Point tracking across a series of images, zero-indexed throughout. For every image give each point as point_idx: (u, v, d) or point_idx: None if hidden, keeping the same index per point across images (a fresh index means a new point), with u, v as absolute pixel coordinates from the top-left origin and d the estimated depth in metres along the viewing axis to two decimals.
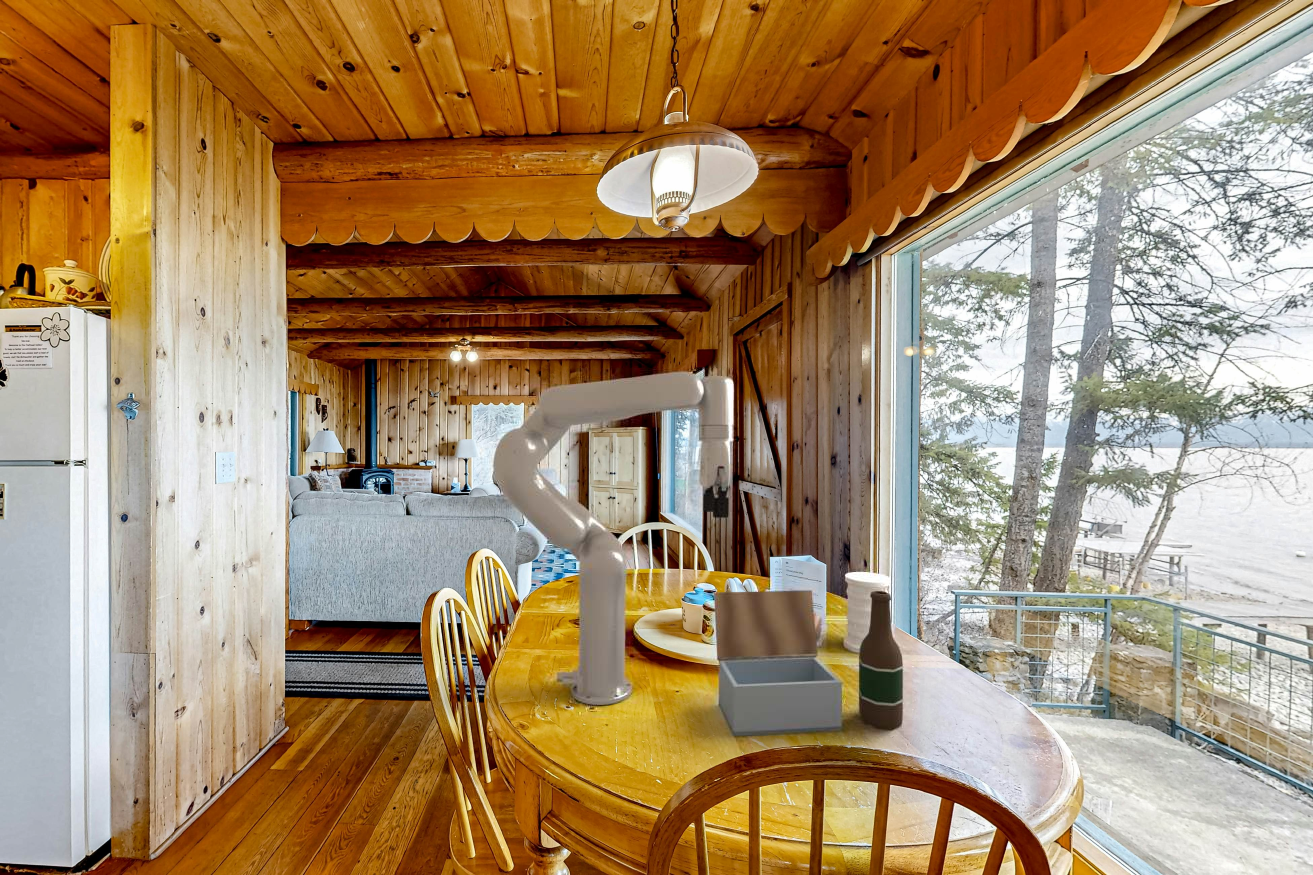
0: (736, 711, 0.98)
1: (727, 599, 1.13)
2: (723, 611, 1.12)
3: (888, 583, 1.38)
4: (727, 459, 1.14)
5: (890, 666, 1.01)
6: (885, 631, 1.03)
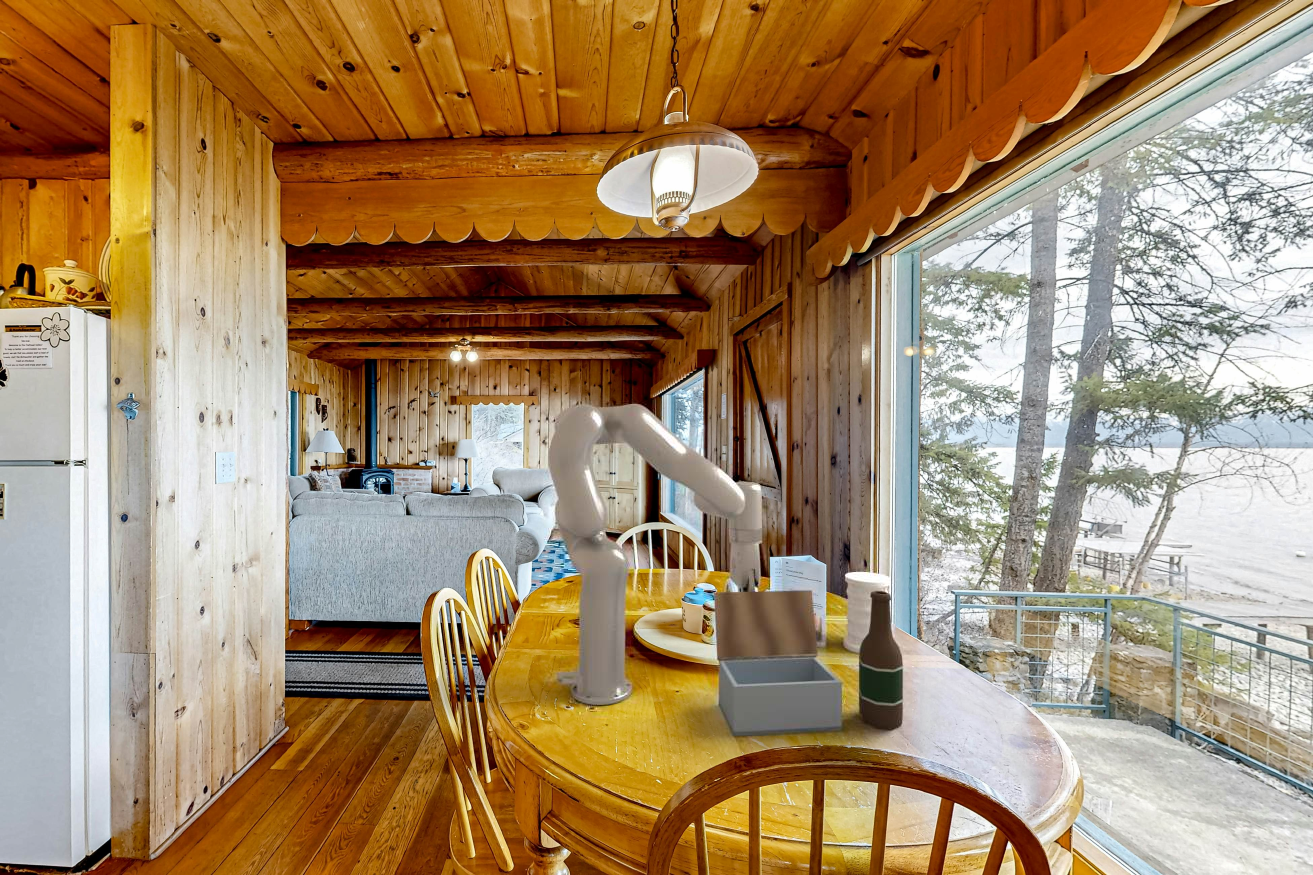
0: (736, 711, 0.98)
1: (727, 599, 1.13)
2: (723, 611, 1.12)
3: (888, 583, 1.38)
4: (757, 562, 1.24)
5: (890, 666, 1.01)
6: (885, 631, 1.03)
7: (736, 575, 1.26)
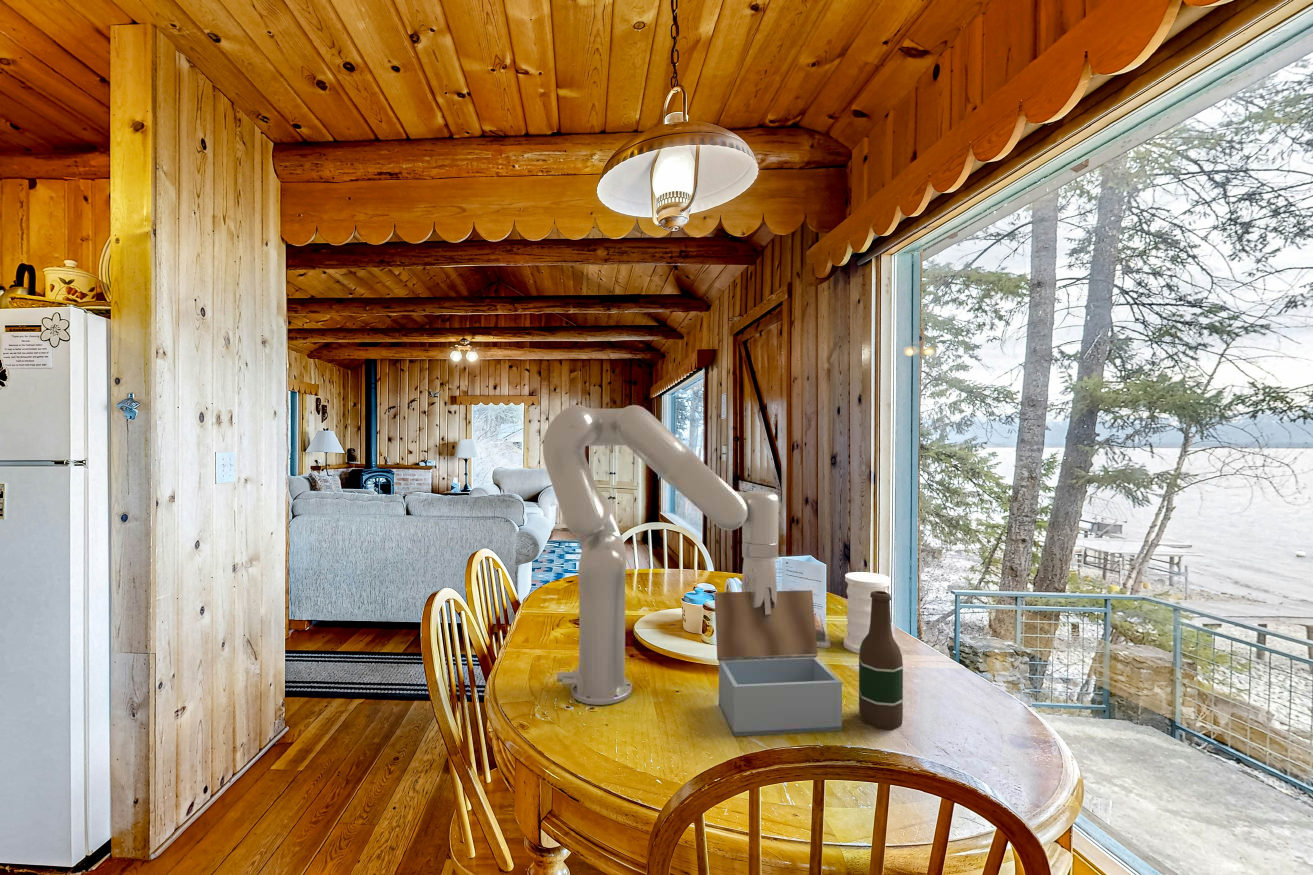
0: (736, 711, 0.98)
1: (727, 599, 1.13)
2: (723, 611, 1.12)
3: (888, 583, 1.38)
4: (774, 580, 1.12)
5: (890, 666, 1.01)
6: (885, 631, 1.03)
7: None
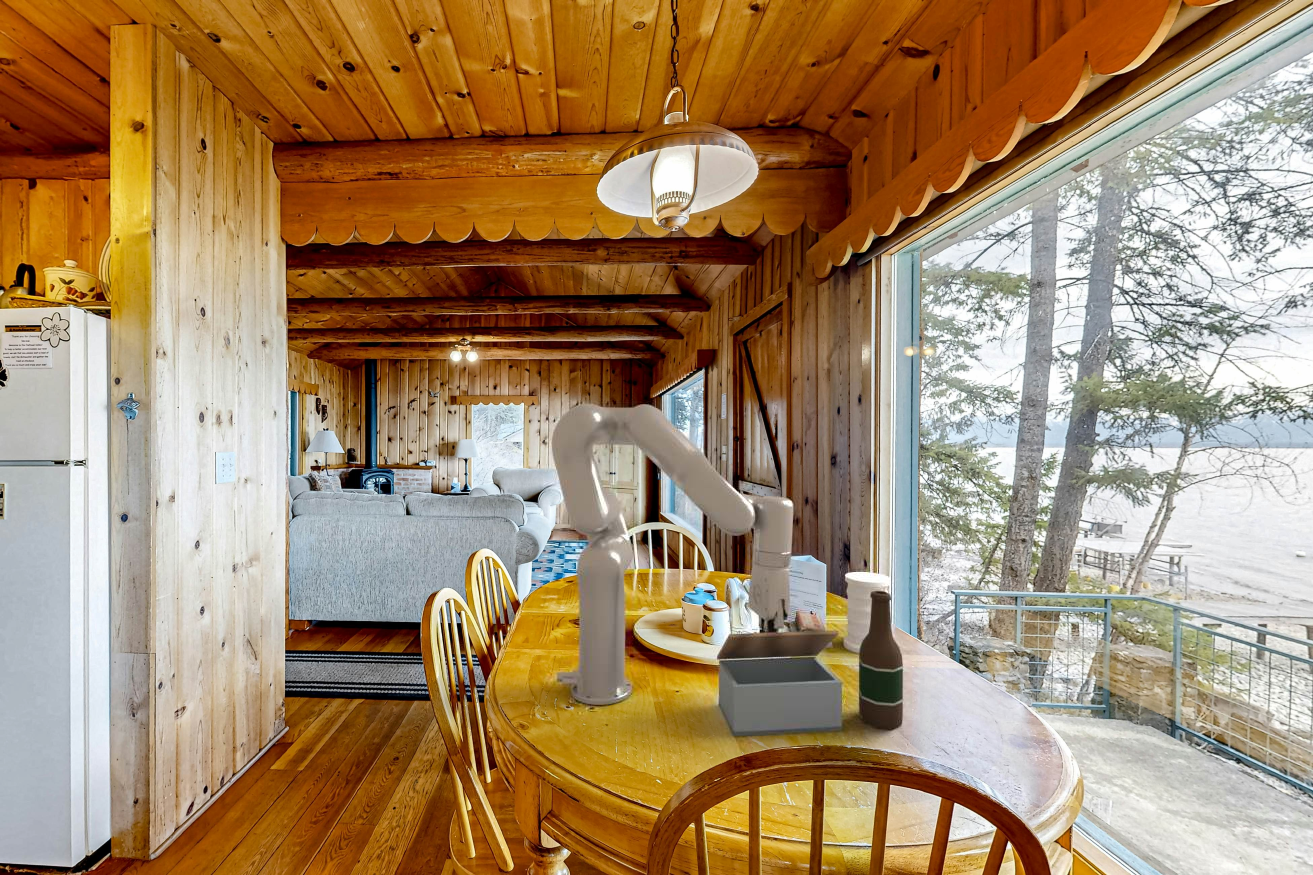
0: (736, 711, 0.98)
1: (742, 639, 1.02)
2: (734, 643, 1.03)
3: (888, 583, 1.38)
4: (787, 591, 1.07)
5: (890, 666, 1.01)
6: (885, 631, 1.03)
7: (761, 605, 1.08)
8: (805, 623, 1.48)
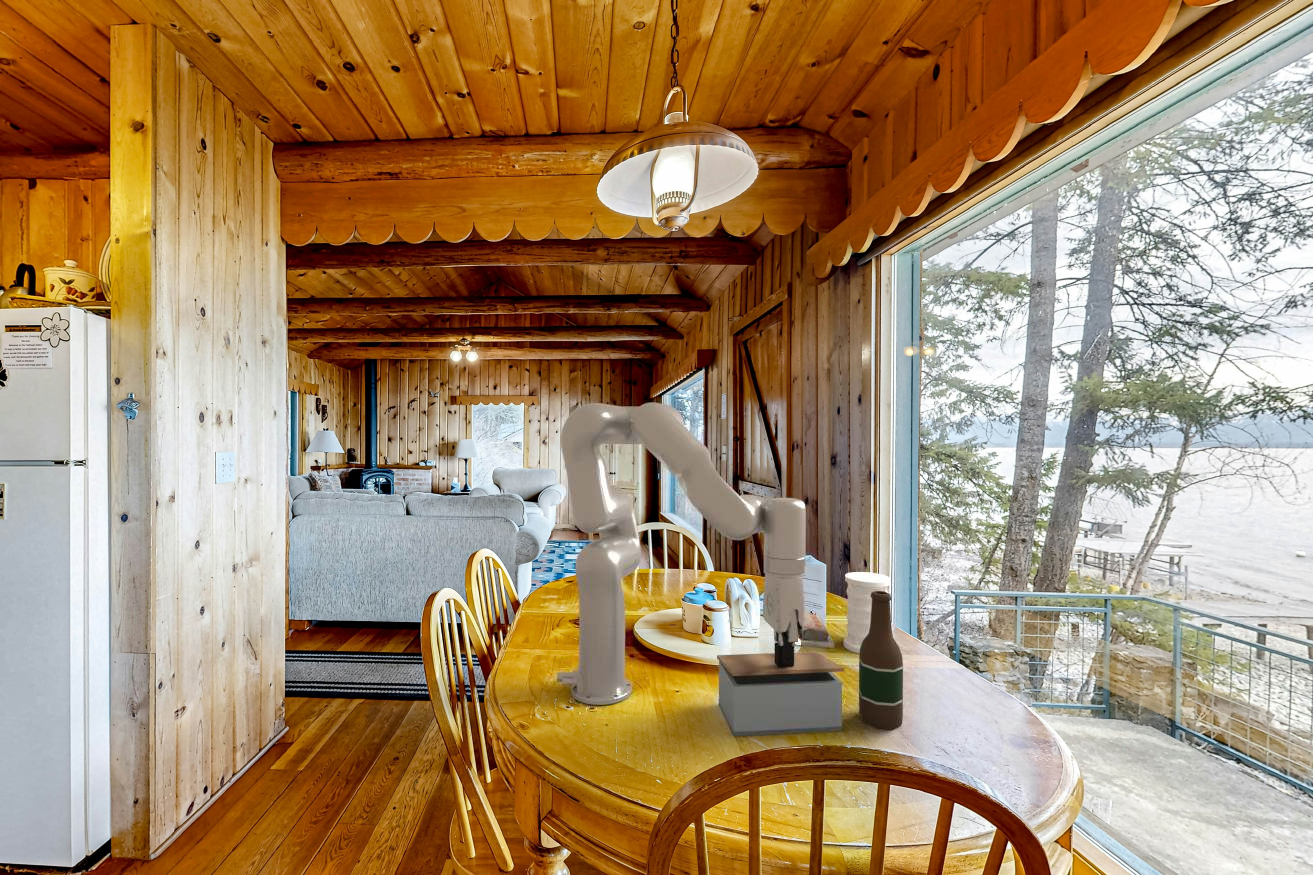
0: (736, 711, 0.98)
1: None
2: None
3: (888, 583, 1.38)
4: (801, 600, 0.98)
5: (890, 666, 1.01)
6: (885, 631, 1.03)
7: (773, 616, 1.00)
8: (806, 623, 1.48)
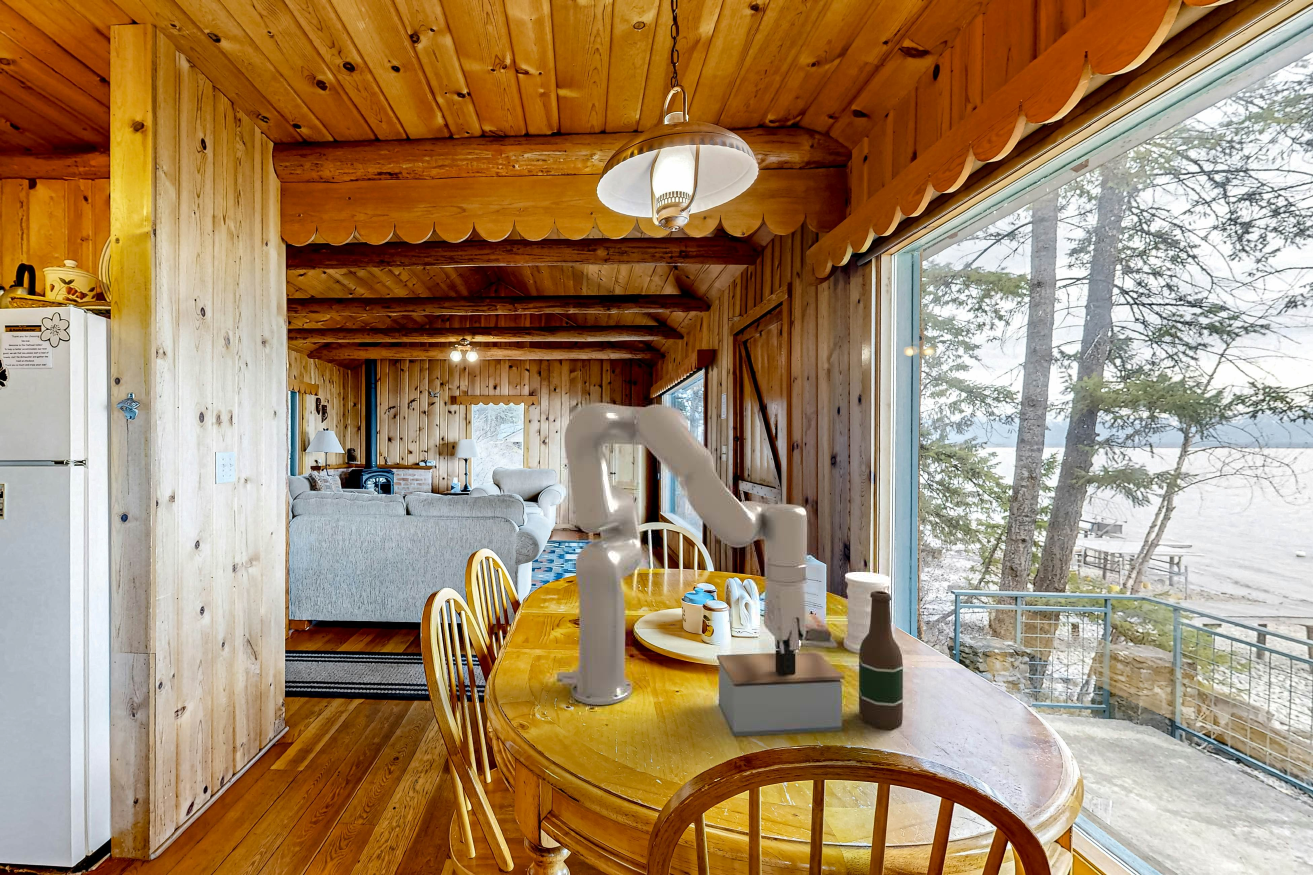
0: (736, 711, 0.98)
1: None
2: None
3: (888, 583, 1.38)
4: (802, 608, 0.97)
5: (890, 666, 1.01)
6: (885, 631, 1.03)
7: (774, 624, 0.99)
8: (808, 623, 1.47)
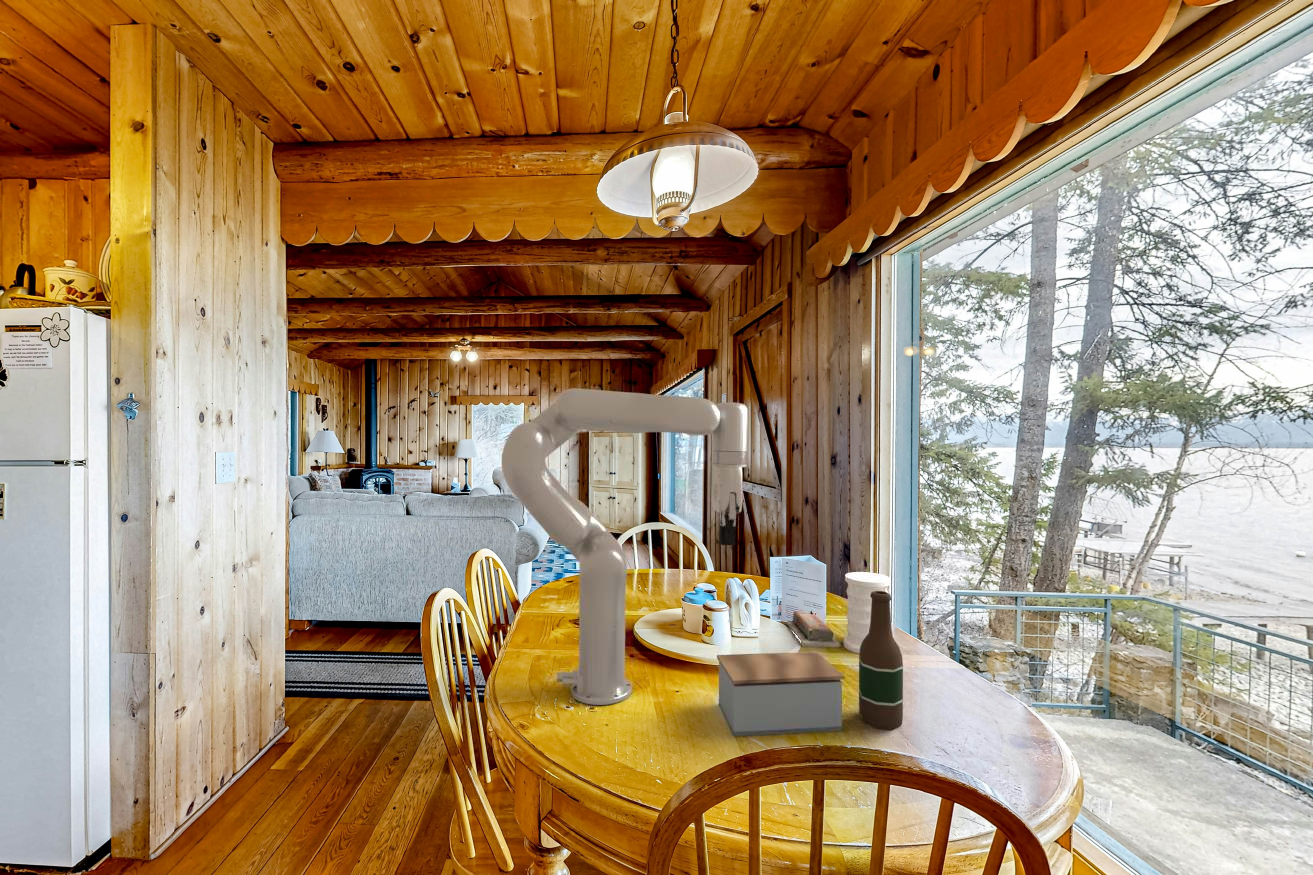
0: (736, 711, 0.98)
1: None
2: None
3: (888, 583, 1.38)
4: (739, 485, 1.16)
5: (890, 666, 1.01)
6: (885, 631, 1.03)
7: (717, 500, 1.18)
8: (810, 623, 1.47)
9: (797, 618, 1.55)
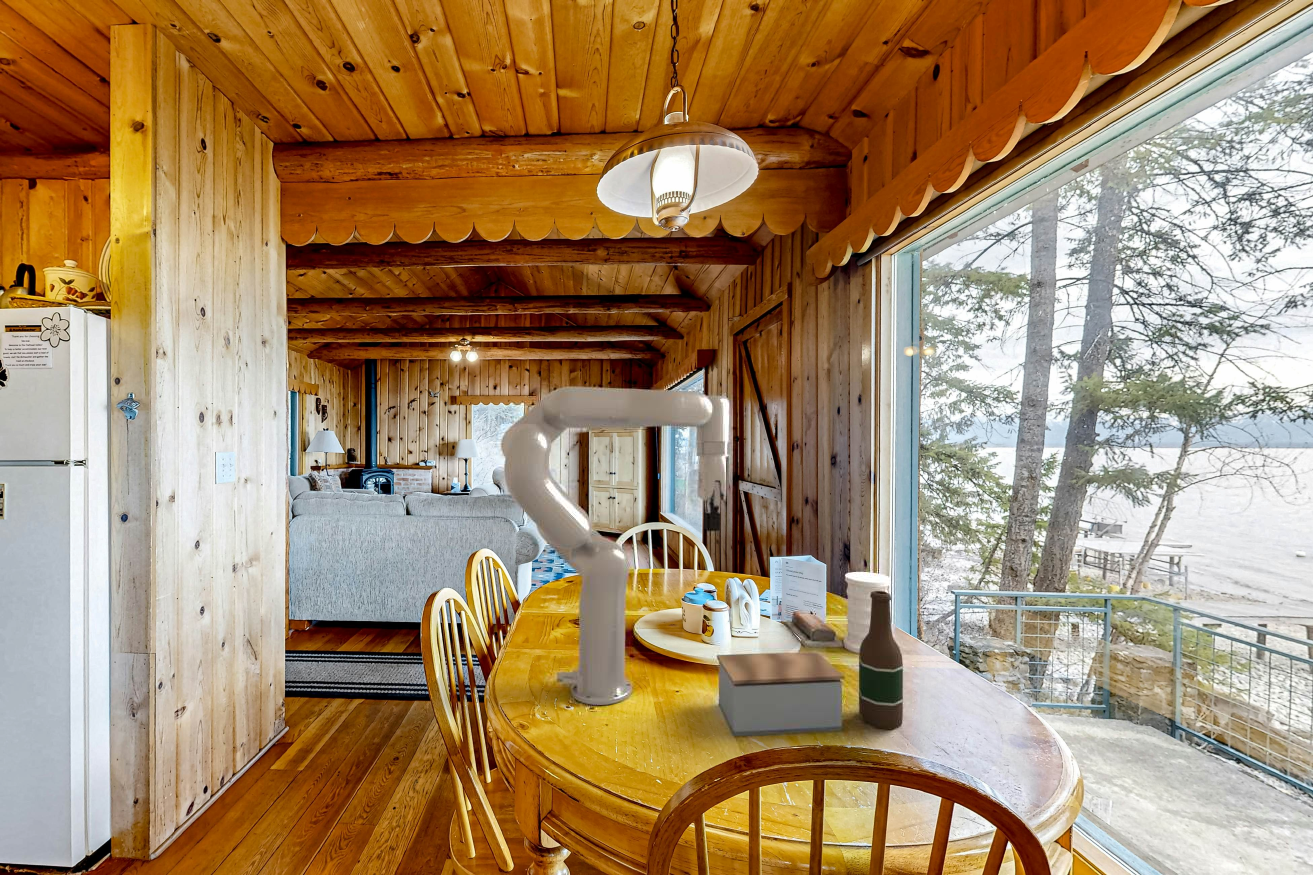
0: (736, 711, 0.98)
1: None
2: None
3: (888, 583, 1.38)
4: (723, 474, 1.22)
5: (890, 666, 1.01)
6: (885, 631, 1.03)
7: (702, 488, 1.24)
8: (812, 623, 1.47)
9: (797, 618, 1.54)
